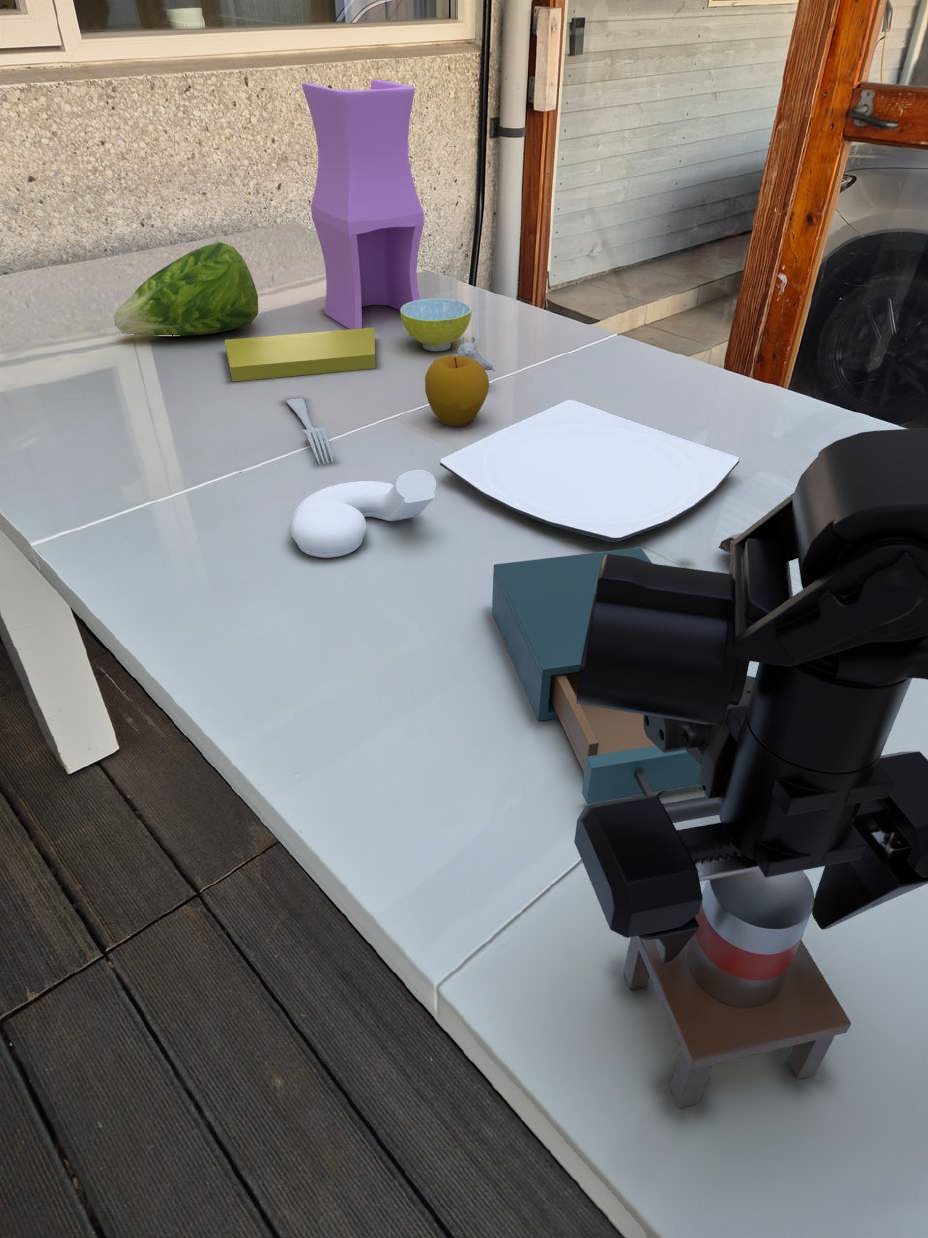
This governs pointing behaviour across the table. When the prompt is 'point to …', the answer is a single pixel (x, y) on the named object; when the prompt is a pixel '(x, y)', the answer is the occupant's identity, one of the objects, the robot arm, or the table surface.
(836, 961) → the table surface
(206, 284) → the lettuce
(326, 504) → the sculpture
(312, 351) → the flat olive board
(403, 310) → the bowl
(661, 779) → the drawer
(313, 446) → the fork
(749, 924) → the can
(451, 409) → the apple
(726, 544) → the decorative stone
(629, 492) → the plate
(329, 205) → the purple hollow column
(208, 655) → the table surface
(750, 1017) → the stool
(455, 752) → the table surface
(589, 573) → the cabinet
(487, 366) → the figurine
